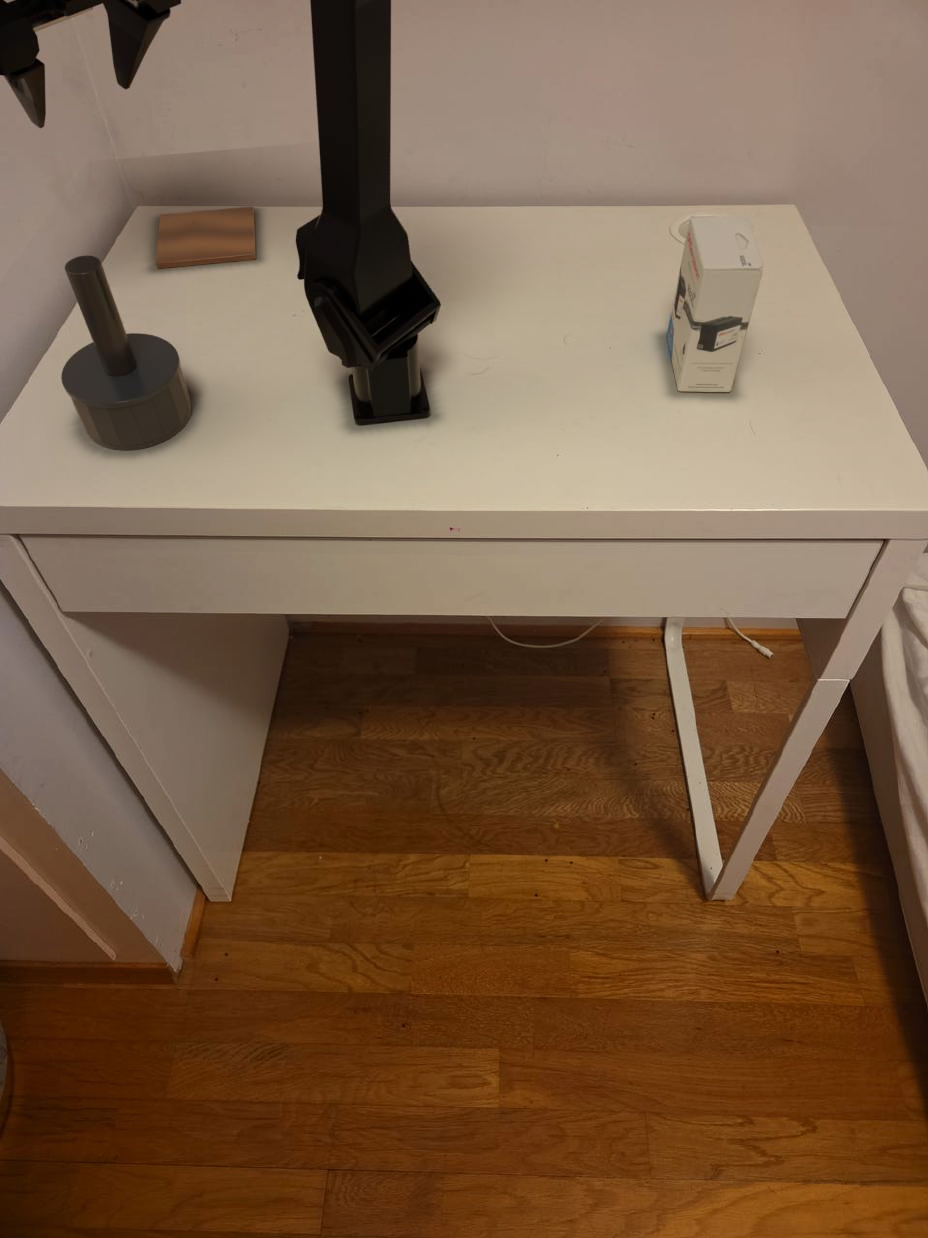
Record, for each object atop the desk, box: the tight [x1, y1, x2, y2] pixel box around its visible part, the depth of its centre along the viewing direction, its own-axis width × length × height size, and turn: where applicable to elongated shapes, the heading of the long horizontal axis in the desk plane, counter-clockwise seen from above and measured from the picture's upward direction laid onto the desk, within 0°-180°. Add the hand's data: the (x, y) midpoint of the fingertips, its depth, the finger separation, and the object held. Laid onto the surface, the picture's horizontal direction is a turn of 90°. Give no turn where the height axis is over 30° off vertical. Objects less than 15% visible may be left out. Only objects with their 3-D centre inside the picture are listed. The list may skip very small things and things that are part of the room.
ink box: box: [666, 215, 764, 393], centre depth 76 cm, size 8×5×12 cm, turn 178°
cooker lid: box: [60, 254, 181, 408], centre depth 70 cm, size 9×9×10 cm
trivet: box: [155, 206, 257, 270], centre depth 95 cm, size 10×10×1 cm
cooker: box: [70, 365, 193, 451], centre depth 75 cm, size 9×9×4 cm
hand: (81, 104), depth 76 cm, fingers open, 9 cm apart
